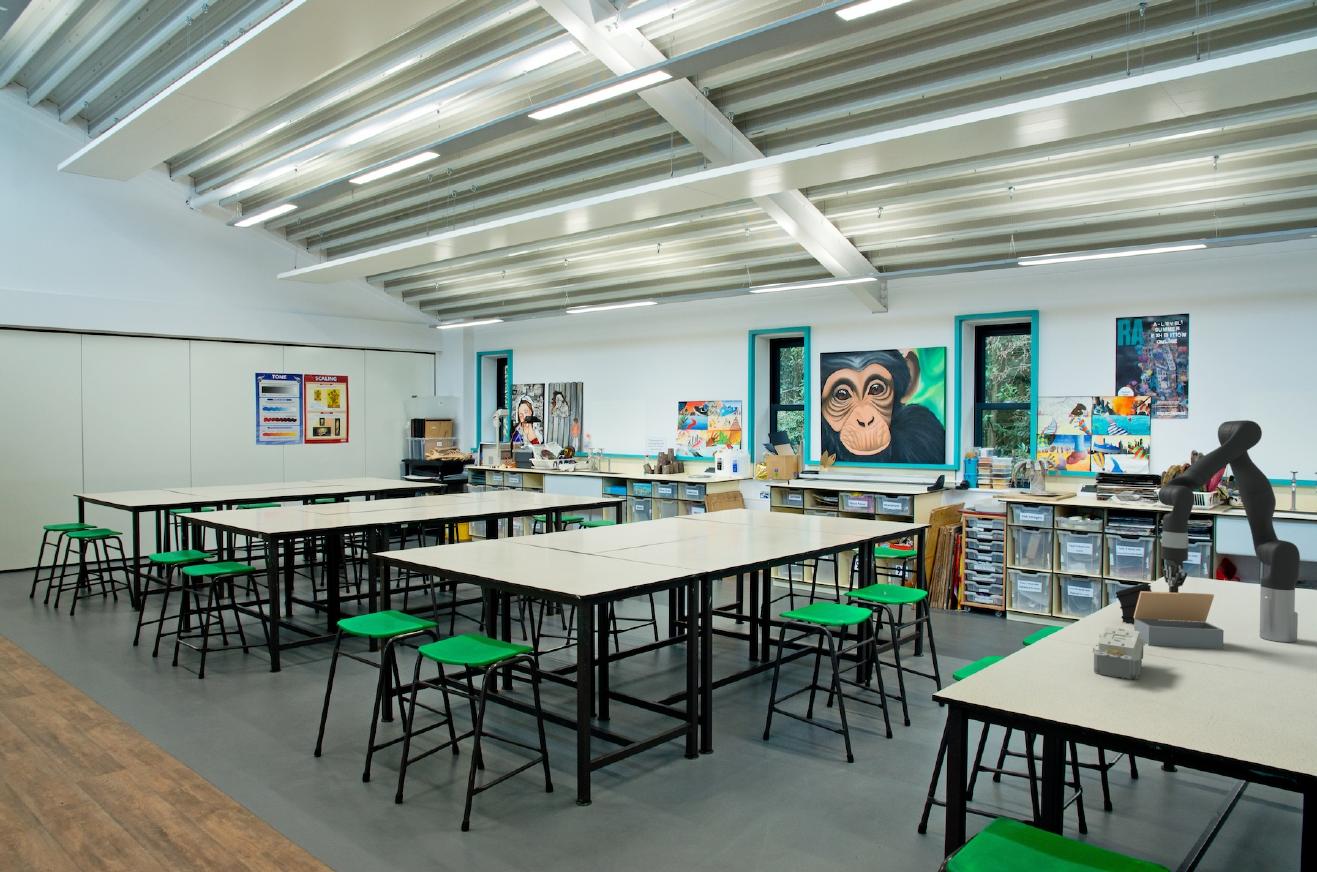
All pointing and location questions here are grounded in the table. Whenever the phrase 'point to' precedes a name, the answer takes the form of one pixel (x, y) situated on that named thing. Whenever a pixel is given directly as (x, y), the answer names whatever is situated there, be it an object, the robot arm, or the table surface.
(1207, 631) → the grey rectangular box
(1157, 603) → the tan flat rectangular panel
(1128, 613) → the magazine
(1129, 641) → the electrical outlet
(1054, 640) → the table surface
